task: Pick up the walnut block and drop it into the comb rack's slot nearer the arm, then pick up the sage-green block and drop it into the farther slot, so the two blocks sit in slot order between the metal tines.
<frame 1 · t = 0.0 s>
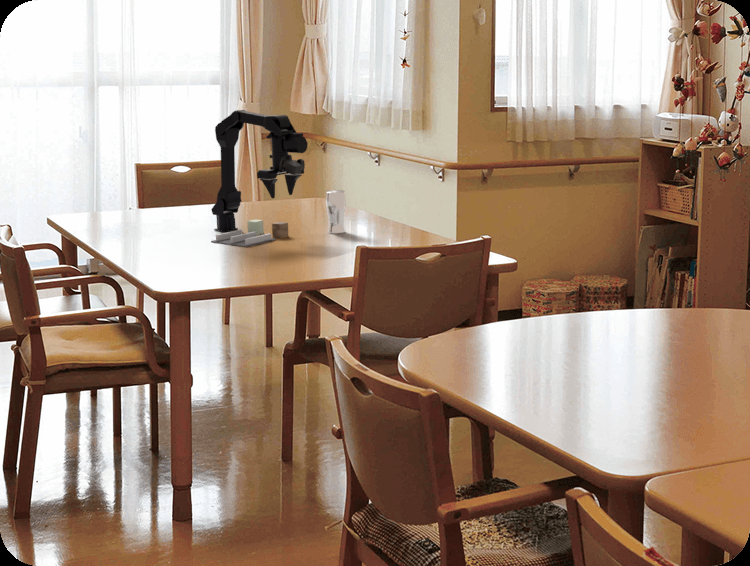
hand: (281, 196, 334), 15 cm above the table, tool pointing down, fingers open, 9 cm apart
white tall carton: (336, 232, 346), on the table
sage block: (255, 234, 345), on the table
comb rack: (243, 241, 332), on the table
walnut block: (280, 236, 339), on the table
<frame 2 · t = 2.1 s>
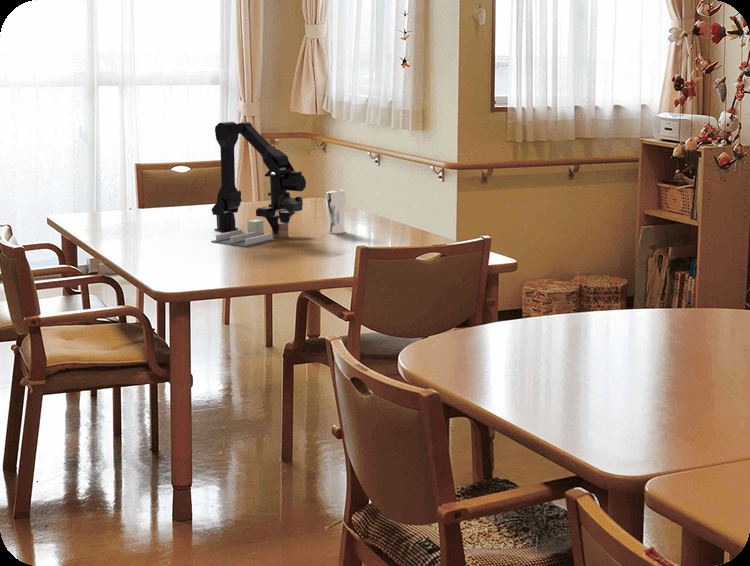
hand: (280, 233, 339), 1 cm above the table, tool pointing down, fingers closed on walnut block, 4 cm apart
walnut block: (280, 236, 339), on the table, touching gripper
everything else where it was.
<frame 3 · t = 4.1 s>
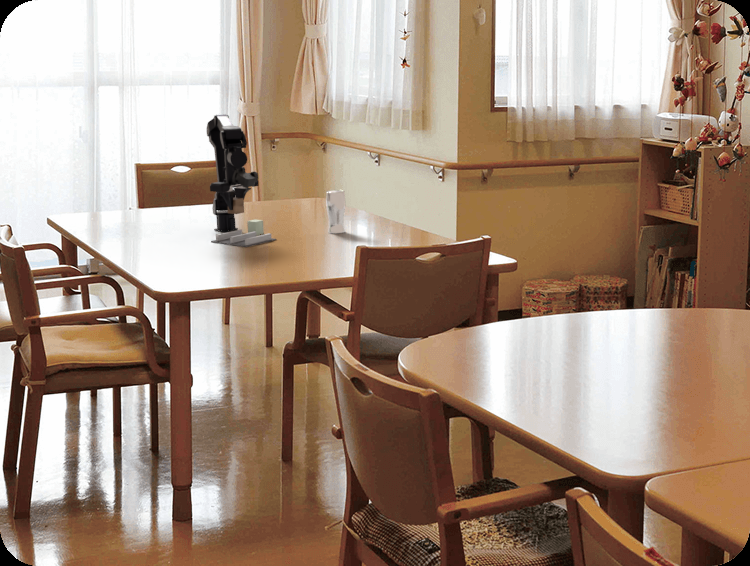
hand: (235, 209, 332), 11 cm above the table, tool pointing down, fingers closed on walnut block, 4 cm apart
walnut block: (236, 212, 332), point 10 cm above the table, touching gripper
everything else where it was.
when the fingers open (3 cm above the table, at t = 5.8 s): walnut block drops 2 cm, resting on comb rack.
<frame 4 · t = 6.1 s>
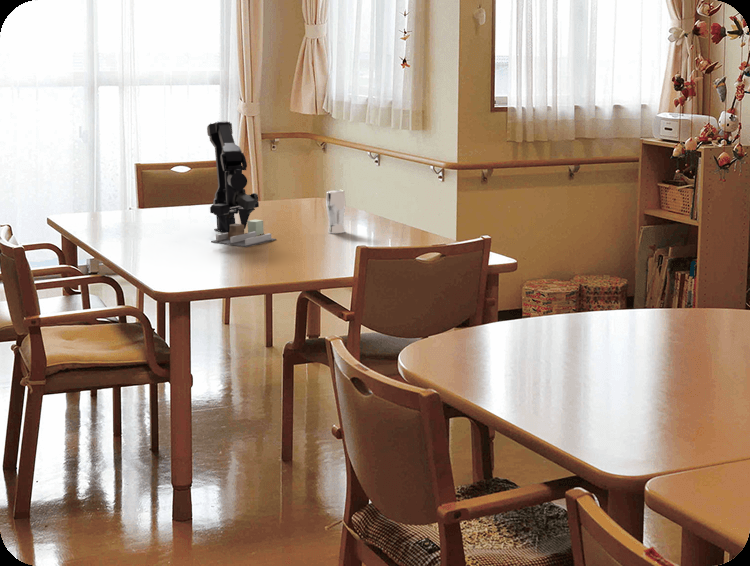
hand: (236, 230, 333), 3 cm above the table, tool pointing down, fingers open, 8 cm apart
walnut block: (236, 238, 334), resting on comb rack
everything else where it was.
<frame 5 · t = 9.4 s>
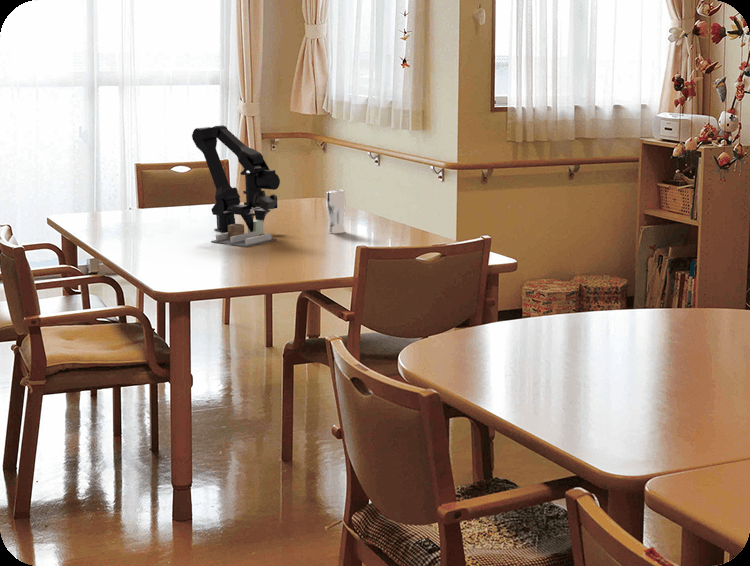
hand: (255, 230, 344), 1 cm above the table, tool pointing down, fingers closed on sage block, 4 cm apart
sage block: (255, 234, 345), on the table, touching gripper
everything else where it was.
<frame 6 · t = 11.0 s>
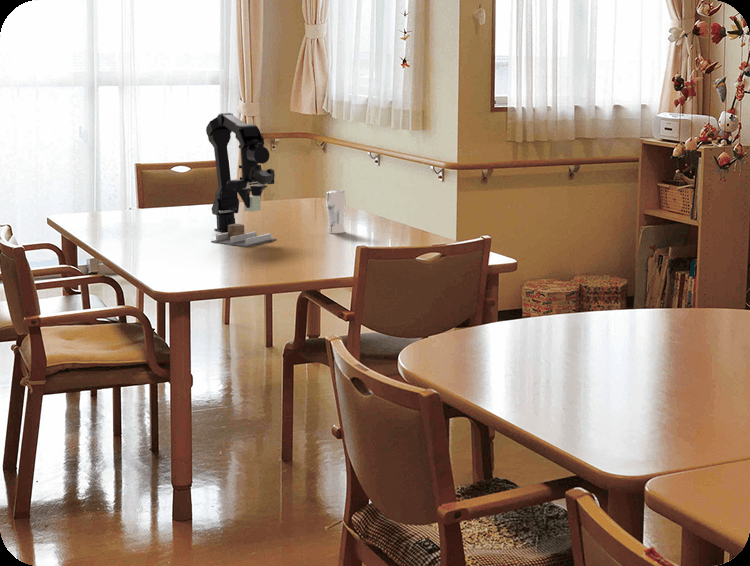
hand: (252, 207, 331), 12 cm above the table, tool pointing down, fingers closed on sage block, 4 cm apart
sage block: (252, 210, 331), point 10 cm above the table, touching gripper
everything else where it was.
when the fingers open (3 cm above the table, at t = 12.9 s): sage block drops 2 cm, resting on comb rack.
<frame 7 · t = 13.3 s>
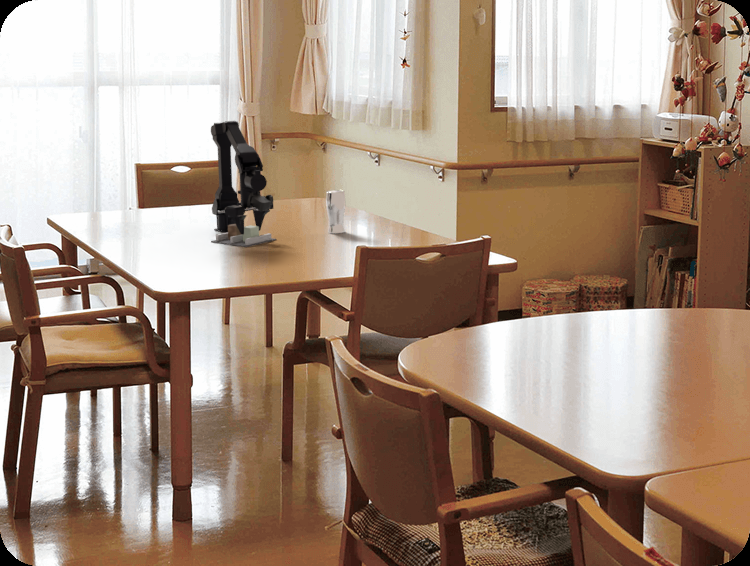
hand: (250, 232, 329), 3 cm above the table, tool pointing down, fingers open, 8 cm apart
sage block: (251, 240, 330), resting on comb rack
everything else where it was.
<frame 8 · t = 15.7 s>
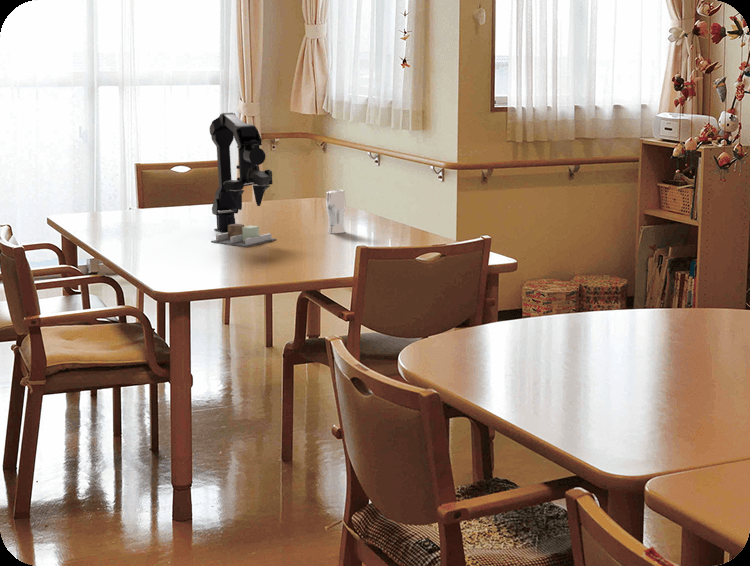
hand: (249, 207, 327), 12 cm above the table, tool pointing down, fingers open, 9 cm apart
nothing on the table moved.
at the end: walnut block inside the target area (0.1 cm from its centre), resting on comb rack; sage block inside the target area (0.0 cm from its centre), resting on comb rack; sage block tilted 0° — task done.
